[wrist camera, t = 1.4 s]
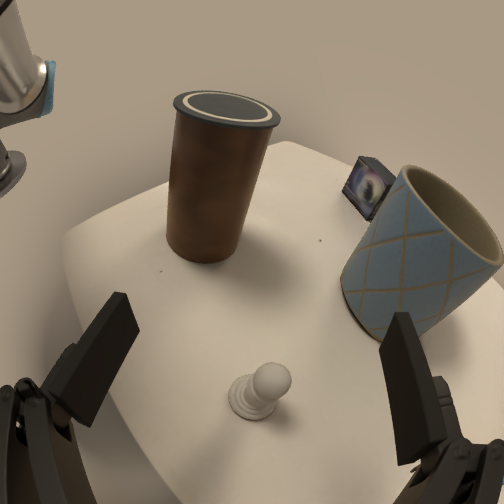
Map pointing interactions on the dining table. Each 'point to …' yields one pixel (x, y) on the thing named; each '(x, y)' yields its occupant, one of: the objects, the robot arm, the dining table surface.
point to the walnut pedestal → (211, 187)
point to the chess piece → (259, 391)
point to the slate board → (226, 110)
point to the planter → (419, 255)
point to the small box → (368, 186)
